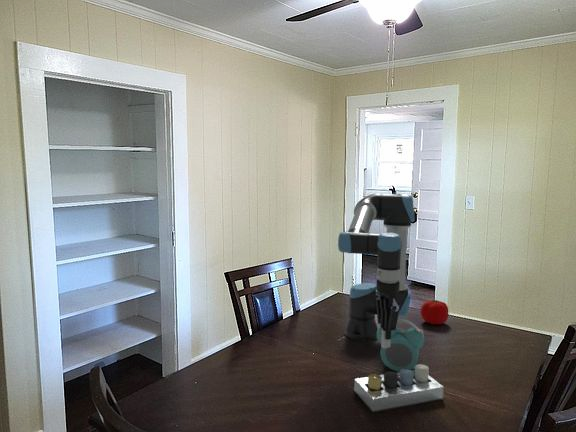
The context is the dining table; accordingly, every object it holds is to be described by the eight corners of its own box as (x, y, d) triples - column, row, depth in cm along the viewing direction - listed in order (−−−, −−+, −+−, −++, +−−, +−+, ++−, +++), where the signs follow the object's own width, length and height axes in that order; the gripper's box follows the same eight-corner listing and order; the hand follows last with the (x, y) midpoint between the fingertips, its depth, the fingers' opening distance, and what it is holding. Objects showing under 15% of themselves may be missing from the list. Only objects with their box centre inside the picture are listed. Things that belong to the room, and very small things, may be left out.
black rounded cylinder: (381, 389, 144) (381, 372, 143) (392, 387, 145) (393, 370, 145) (387, 396, 140) (388, 378, 139) (399, 394, 141) (400, 376, 140)
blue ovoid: (396, 386, 146) (397, 370, 145) (407, 384, 147) (408, 368, 146) (403, 393, 142) (404, 376, 141) (415, 391, 143) (416, 374, 142)
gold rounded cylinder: (365, 392, 142) (365, 375, 141) (376, 390, 143) (377, 373, 143) (371, 398, 138) (372, 381, 137) (383, 396, 139) (384, 379, 139)
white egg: (411, 381, 147) (412, 365, 147) (422, 379, 149) (423, 363, 148) (419, 388, 143) (420, 371, 142) (430, 386, 145) (431, 369, 144)
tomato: (452, 328, 203) (453, 304, 202) (423, 327, 204) (425, 304, 202) (443, 318, 216) (444, 296, 214) (416, 318, 216) (417, 296, 214)
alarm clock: (423, 366, 165) (425, 316, 162) (422, 377, 156) (424, 325, 153) (377, 359, 170) (379, 310, 168) (374, 369, 161) (376, 319, 159)
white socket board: (354, 391, 146) (354, 379, 145) (419, 380, 154) (420, 368, 153) (372, 412, 134) (373, 399, 133) (442, 399, 141) (443, 386, 141)
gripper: (368, 275, 146) (366, 340, 150) (388, 287, 134) (386, 357, 138) (387, 273, 149) (385, 337, 152) (409, 284, 136) (406, 353, 140)
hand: (385, 346), depth 145 cm, fingers closed
